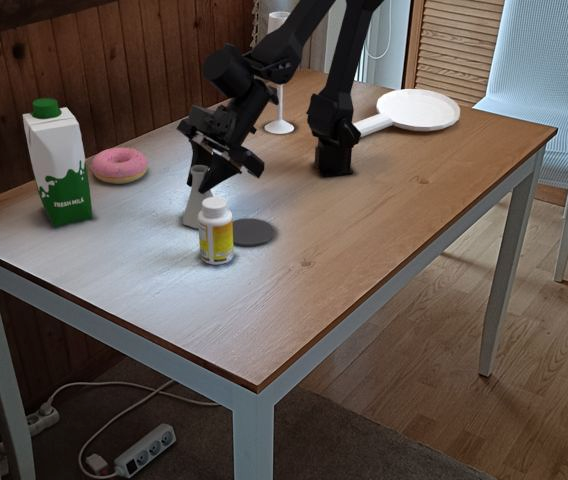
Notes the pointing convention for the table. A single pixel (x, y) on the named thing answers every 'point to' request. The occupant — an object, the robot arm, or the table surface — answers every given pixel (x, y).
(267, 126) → the champagne flute
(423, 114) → the frying pan
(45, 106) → the milk carton
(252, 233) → the slate coaster
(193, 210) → the flask
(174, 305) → the table surface
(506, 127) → the table surface
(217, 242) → the supplement bottle
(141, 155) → the doughnut
